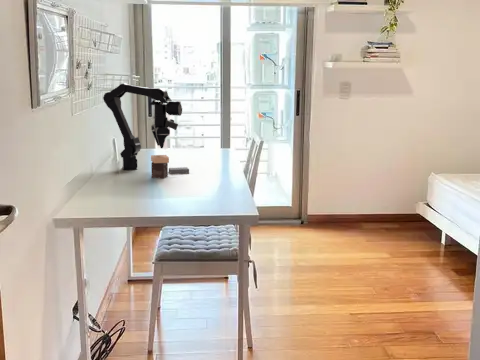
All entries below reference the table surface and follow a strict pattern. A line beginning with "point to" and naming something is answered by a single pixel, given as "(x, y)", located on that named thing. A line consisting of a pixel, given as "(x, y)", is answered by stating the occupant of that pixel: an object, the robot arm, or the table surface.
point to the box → (159, 170)
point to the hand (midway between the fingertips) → (160, 146)
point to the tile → (159, 158)
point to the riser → (178, 170)
